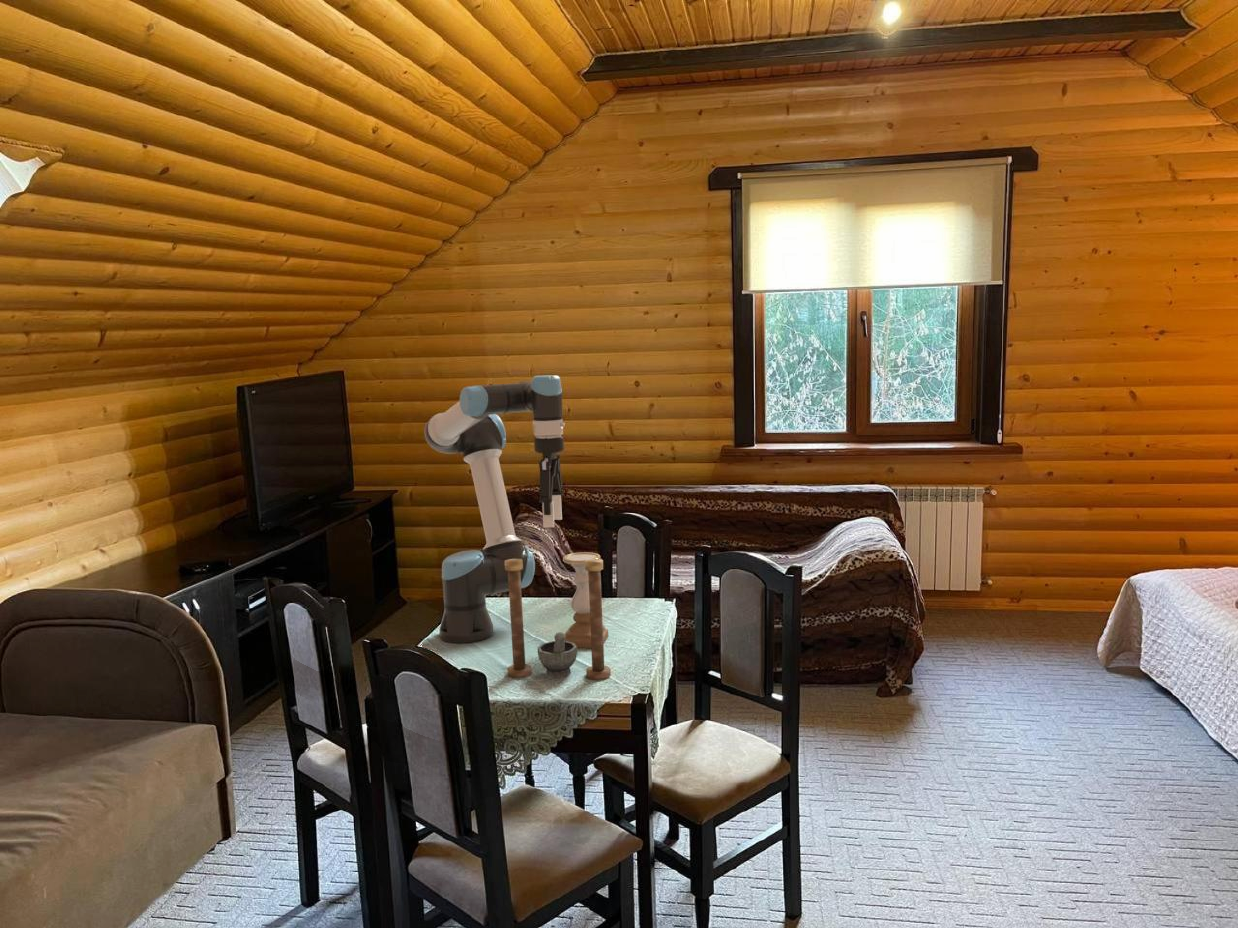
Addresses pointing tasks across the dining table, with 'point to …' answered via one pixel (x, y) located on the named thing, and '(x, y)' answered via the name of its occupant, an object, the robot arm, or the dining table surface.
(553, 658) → the mortar and pestle
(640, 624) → the dining table surface
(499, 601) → the dining table surface
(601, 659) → the right candlestick
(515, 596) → the left candlestick
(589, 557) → the candle holder
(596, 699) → the dining table surface
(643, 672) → the dining table surface
